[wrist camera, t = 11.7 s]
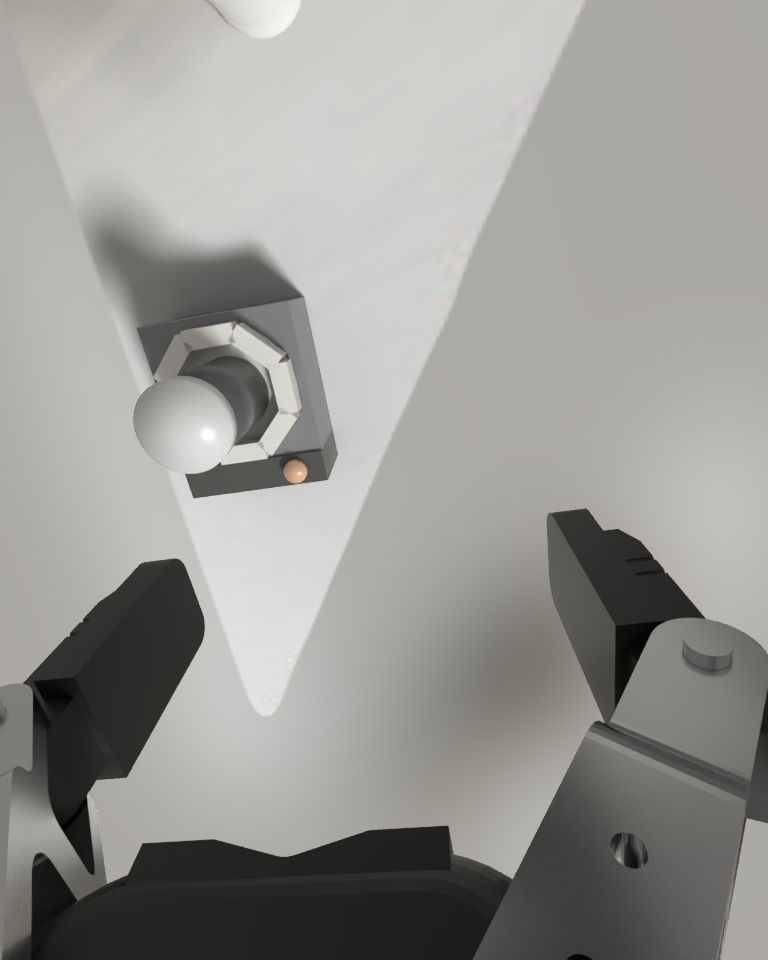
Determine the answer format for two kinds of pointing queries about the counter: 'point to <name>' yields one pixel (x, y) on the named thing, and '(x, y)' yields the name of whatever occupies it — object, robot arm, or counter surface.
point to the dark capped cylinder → (200, 413)
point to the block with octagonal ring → (291, 383)
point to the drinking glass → (258, 16)
